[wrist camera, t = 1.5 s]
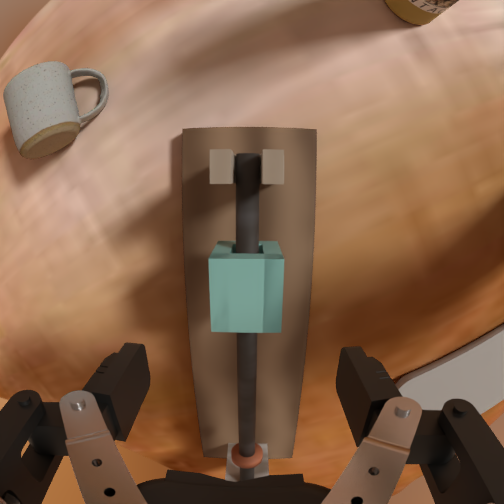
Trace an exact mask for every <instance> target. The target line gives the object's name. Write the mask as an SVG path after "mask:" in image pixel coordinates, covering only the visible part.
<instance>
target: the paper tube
mask: <svg viewBox="0 0 504 504" xmlns="http://www.w3.org/2000/svg"><path fill="white" fill-rule="evenodd" d="M457 1H459V0H385V2H386V4H387V5H388V7H389V8H390V9H391V10H392V11H393V12H394V13H395V14H396V15H397V16H398V17H400V18H401V19H403V20H405V21H407V22H409V23H412V24H417V25H425V24H428V23H429V22H431V21H432V20H433V19H435V18H436V17H437V16H439V15H440V14H441V13H443V12H444V11H446V10H447V9H448V8H449V7H451V6H452V5H453V4H455V3H456V2H457Z"/></svg>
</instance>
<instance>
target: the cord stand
mask: <svg viewBox="0 0 504 504" xmlns="http://www.w3.org/2000/svg"><path fill="white" fill-rule="evenodd" d="M316 156H317V129H300V128H275V127H213V128H188V129H183V134H182V210H183V244H184V267H185V285H186V301H187V315H188V328H189V340H190V351H191V361H192V371H193V380H194V389H195V397H196V405H197V413H198V421H199V428H200V435H201V442H202V449H203V455H204V457H213V458H227V465H226V476H225V480H228V481H233V482H236V481H243V480H248V479H254V478H259V477H264V476H268V475H269V468H268V459H280V458H292V455H293V449H294V442H295V435H296V429H297V421H298V414H299V406H300V399H301V390H302V382H303V373H304V364H305V355H306V345H307V334H308V323H309V311H310V299H311V285H312V269H313V252H314V232H315V205H316ZM218 241H236V253H245V254H259V241H278V244H279V247H280V249H281V252H282V254H283V257H284V282H283V305H282V326H281V333H239V332H211V315H210V290H209V257H210V255H211V253H212V251H213V249H214V248H215V246H216V244H217V242H218Z"/></svg>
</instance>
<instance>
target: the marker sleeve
mask: <svg viewBox="0 0 504 504" xmlns="http://www.w3.org/2000/svg"><path fill="white" fill-rule="evenodd" d="M283 282H284V257H283V254H282V252H281V249H280V247H279V244H278V241H259V254H245V253H236V241H218V242H217V244H216V246H215V248H214V249H213V251H212V253H211V255H210V257H209V290H210V315H211V332H239V333H281V326H282V305H283Z"/></svg>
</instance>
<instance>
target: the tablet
mask: <svg viewBox="0 0 504 504" xmlns="http://www.w3.org/2000/svg"><path fill="white" fill-rule="evenodd" d="M395 385H396V387H397V388H398V390H399V392H400V393H401V395H402V396H403V397H407V398H411V399H413V400H415V401H416V402H418V403H419V404H420V406H421V408H422V410H442V408H443V405H444V403H445V402H447V401H448V400H450V399H463V400H466V401H468V402H470V403H471V404H473V406H474V407H475V408H476V409H477V411H478V412H479V413H480V414H482V413H483V412H485V411H487V410H488V409H490V408H491V407H493V406H494V405H496V404H497V403H499V402H500V401H502V400H503V399H504V324H502V325H501V326H499V327H498V328H496V329H494V330H493V331H491V332H489V333H488V334H486V335H484V336H482V337H481V338H479V339H477V340H475V341H474V342H472V343H470V344H468V345H466V346H465V347H463V348H461V349H459V350H457V351H455V352H453V353H451V354H449V355H447V356H445V357H443V358H441V359H439V360H437V361H435V362H433V363H431V364H429V365H427V366H425V367H422V368H420V369H418V370H416V371H414V372H411V373H409V374H407V375H405V376H403V377H402V378H401V379H400V380H399V381H398V382H397V383H396V384H395Z"/></svg>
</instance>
